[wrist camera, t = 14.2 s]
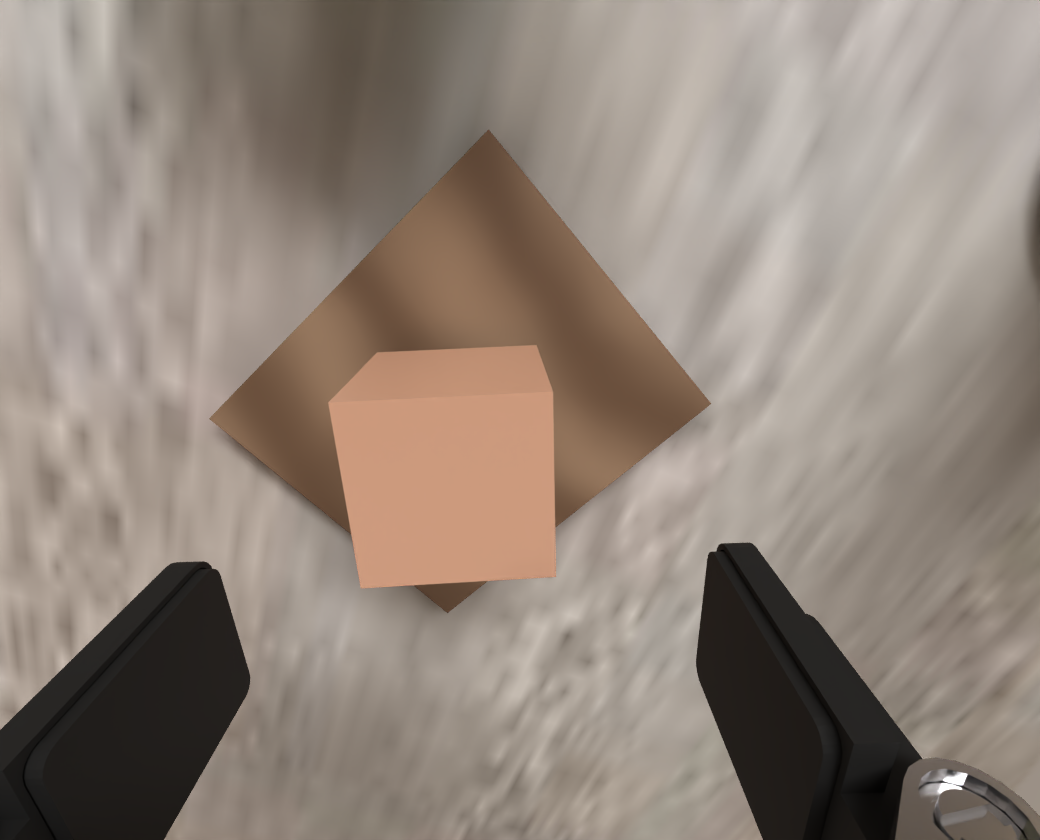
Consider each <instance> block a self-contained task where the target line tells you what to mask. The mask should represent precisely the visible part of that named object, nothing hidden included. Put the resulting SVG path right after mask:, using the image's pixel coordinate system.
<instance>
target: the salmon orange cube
mask: <svg viewBox="0 0 1040 840" xmlns="http://www.w3.org/2000/svg"><path fill="white" fill-rule="evenodd" d="M328 404H329V410H330V416H331V421H332V427H333V433H334V438H335V444H336V450H337V455H338V461H339V467H340V472H341V478H342V484H343V490H344V495H345V501H346V507H347V512H348V518H349V524H350V529H351V535H352V541H353V546H354V552H355V558H356V563H357V569H358V575H359V580H360V586H361V588H375V587H392V586H409V585H426V584H443V583H460V582H477V581H493V580H510V579H527V578H544V577H556V547H555V483H554V419H553V390H552V387H551V384H550V382H549V379H548V376H547V373H546V370H545V368H544V365H543V362H542V359H541V356H540V353H539V351H538V348H537V345H526V346H505V347H483V348H462V349H440V350H418V351H397V352H377V353H376V354H375V355H374V356H373V357H372V358H371V359H370V360H369V361H368V362H367V363H366V364H365V365H364V366H363V367H362V368H361V369H360V370H359V372H358V373H357V374H356V375H355V376H354V377H353V378H352V379H351V380H350V381H349V382H348V383H347V384H346V385H345V386H344V387H343V388H342V389H341V390H340V391H339V392H338V393H337V394H336V395H335V396H334V397H333V398H332V399H331V400H330V401H329V402H328Z"/></svg>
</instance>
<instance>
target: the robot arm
mask: <svg viewBox="0 0 1040 840" xmlns="http://www.w3.org/2000/svg"><path fill="white" fill-rule="evenodd" d="M696 667H697V673H698V678H699V681H700V683H701V686H702V688H703V691H704V693H705V696H706V698H707V701H708V703H709V706H710V708H711V711H712V713H713V716H714V718H715V721H716V723H717V726H718V728H719V731H720V733H721V736H722V738H723V741H724V743H725V746H726V748H727V751H728V753H729V756H730V758H731V761H732V763H733V766H734V768H735V771H736V773H737V776H738V778H739V781H740V783H741V786H742V788H743V791H744V793H745V796H746V798H747V801H748V803H749V806H750V808H751V811H752V813H753V816H754V818H755V821H756V823H757V826H758V828H759V831H760V833H761V836H762V838H763V840H1040V816H1039V815H1038V814H1037V813H1036V812H1035V811H1034V810H1033V809H1032V808H1031V807H1030V805H1029V804H1028V803H1027V802H1026V801H1025V800H1024V799H1022V798H1021V797H1020V796H1019V795H1017V794H1016V793H1015V792H1013V791H1012V790H1011V789H1009V788H1008V787H1007V786H1006V785H1004V784H1003V783H1002V782H1000V781H998V780H996V779H995V778H993V777H991V776H989V775H988V774H986V773H984V772H982V771H981V770H979V769H976V768H974V767H971V766H968V765H966V764H963V763H960V762H958V761H954V760H948V759H942V758H928V759H922V758H921V756H920V755H919V754H918V752H917V751H916V750H915V748H914V747H913V746H912V745H911V743H910V742H909V741H908V739H907V738H906V737H905V735H904V734H903V733H902V731H901V730H900V729H899V727H898V726H897V725H896V723H895V722H894V721H893V719H892V718H891V717H890V716H889V714H888V713H887V712H886V710H885V709H884V708H883V706H882V705H881V704H880V702H879V701H878V700H877V698H876V697H875V696H874V694H873V693H872V692H871V690H870V689H869V688H868V686H867V685H866V684H865V683H864V681H863V680H862V679H861V677H860V676H859V675H858V673H857V672H856V671H855V669H854V668H853V667H852V665H851V664H850V663H849V661H848V660H847V659H846V657H845V656H844V655H843V654H842V652H841V651H840V650H839V648H838V647H837V646H836V644H835V643H834V642H833V640H832V639H831V638H830V636H829V635H828V634H827V632H826V631H825V630H824V628H823V627H822V626H821V624H820V623H819V622H818V621H817V620H816V619H815V618H814V617H812V616H810V615H808V614H805V613H804V611H803V610H802V609H801V607H800V606H799V605H798V603H797V602H796V601H795V599H794V598H793V597H792V595H791V594H790V592H789V591H788V590H787V588H786V587H785V586H784V584H783V583H782V582H781V580H780V579H779V578H778V576H777V575H776V574H775V572H774V571H773V570H772V568H771V567H770V565H769V564H768V563H767V561H766V560H765V559H764V557H763V556H762V555H761V553H760V552H759V551H758V549H757V548H756V547H755V546H754V545H753V544H752V543H725V544H720V545H719V546H718V548H717V552H710V553H709V555H708V559H707V568H706V577H705V586H704V595H703V604H702V612H701V621H700V630H699V639H698V648H697V657H696ZM249 685H250V674H249V670H248V667H247V663H246V660H245V657H244V653H243V650H242V646H241V643H240V640H239V636H238V633H237V630H236V626H235V623H234V619H233V616H232V613H231V609H230V606H229V603H228V599H227V596H226V593H225V589H224V586H223V582H222V579H221V576H220V574H219V572H218V571H217V570H216V569H212V567H211V565H209V564H208V563H207V562H176V563H172V564H170V565H169V566H167V567H166V568H165V569H164V570H163V571H162V572H161V573H160V574H159V575H158V576H157V577H156V578H155V579H154V580H153V581H152V582H151V583H150V584H149V585H148V586H147V587H146V588H145V589H144V590H142V591H141V592H140V593H139V594H138V595H137V596H136V597H135V598H134V599H133V600H132V601H131V602H130V603H129V604H128V605H127V606H126V607H125V608H124V609H123V610H122V611H121V612H120V613H119V614H118V615H117V616H116V617H115V618H114V619H113V620H112V621H111V622H110V623H109V624H108V625H107V626H106V627H105V628H104V629H103V630H102V631H101V632H100V633H99V634H98V635H97V636H96V637H95V638H94V639H93V640H92V641H90V642H89V643H88V644H87V645H86V646H85V647H84V648H83V649H82V650H81V651H80V652H79V653H78V654H77V655H76V656H75V657H74V658H73V659H72V660H71V661H70V662H69V663H68V664H67V665H66V666H65V667H64V668H63V669H62V670H61V671H60V672H59V673H58V674H57V675H56V676H55V677H54V678H53V679H52V680H51V681H50V682H49V683H48V684H47V685H46V686H45V687H44V688H43V689H42V690H41V691H40V692H39V693H37V694H36V695H35V696H34V697H33V698H32V699H31V700H30V701H29V702H28V703H27V704H26V705H25V706H24V707H23V708H22V709H21V710H20V711H19V712H18V713H17V714H16V715H15V716H14V717H13V718H12V719H11V720H10V721H9V722H8V723H7V724H6V725H5V726H4V727H3V728H2V729H1V730H0V840H164V838H165V837H166V835H167V833H168V831H169V830H170V828H171V826H172V824H173V823H174V821H175V819H176V817H177V816H178V814H179V812H180V810H181V809H182V807H183V805H184V803H185V802H186V800H187V798H188V796H189V795H190V793H191V791H192V789H193V788H194V786H195V784H196V782H197V781H198V779H199V777H200V775H201V774H202V772H203V770H204V769H205V767H206V765H207V763H208V762H209V760H210V758H211V756H212V755H213V753H214V751H215V749H216V748H217V746H218V744H219V742H220V741H221V739H222V737H223V735H224V734H225V732H226V730H227V728H228V727H229V725H230V723H231V721H232V720H233V718H234V716H235V714H236V713H237V711H238V709H239V707H240V706H241V704H242V702H243V700H244V699H245V697H246V695H247V693H248V689H249Z"/></svg>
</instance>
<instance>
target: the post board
mask: <svg viewBox="0 0 1040 840" xmlns="http://www.w3.org/2000/svg"><path fill="white" fill-rule="evenodd" d="M526 345H537V348H538V351H539V353H540V356H541V359H542V362H543V365H544V368H545V370H546V373H547V376H548V379H549V382H550V384H551V387H552V390H553V419H554V483H555V527H556V526H558V525H559V524H560V523H561V522H563V521H564V520H565V519H567V518H568V517H569V516H570V515H572V514H573V513H574V512H575V511H577V510H578V509H579V508H580V507H582V506H583V505H584V504H585V503H587V502H588V501H589V500H590V499H592V498H593V497H594V496H596V495H597V494H598V493H599V492H601V491H602V490H603V489H604V488H606V487H607V486H608V485H609V484H611V483H612V482H613V481H614V480H616V479H617V478H618V477H619V476H621V475H622V474H623V473H625V472H626V471H627V470H628V469H630V468H631V467H632V466H633V465H635V464H636V463H637V462H638V461H640V460H641V459H642V458H643V457H645V456H646V455H647V454H648V453H650V452H651V451H652V450H654V449H655V448H656V447H657V446H659V445H660V444H661V443H662V442H664V441H665V440H666V439H667V438H669V437H670V436H671V435H672V434H674V433H675V432H676V431H677V430H679V429H680V428H681V427H683V426H684V425H685V424H686V423H688V422H689V421H690V420H691V419H693V418H694V417H695V416H696V415H698V414H699V413H700V412H701V411H703V410H704V409H705V408H706V407H708V406H709V405H710V404H711V403H710V402H709V400H708V399H707V398H706V397H705V396H704V394H703V393H702V392H701V391H700V389H699V388H698V387H697V386H696V384H695V383H694V382H693V381H692V380H691V378H690V377H689V376H688V375H687V373H686V372H685V371H684V370H683V368H682V367H681V366H680V365H679V364H678V362H677V361H676V360H675V359H674V357H673V356H672V355H671V354H670V352H669V351H668V350H667V349H666V348H665V346H664V345H663V344H662V343H661V341H660V340H659V339H658V338H657V336H656V335H655V334H654V333H653V332H652V330H651V329H650V328H649V327H648V325H647V324H646V323H645V322H644V320H643V319H642V318H641V317H640V315H639V314H638V313H637V312H636V311H635V309H634V308H633V307H632V306H631V304H630V303H629V302H628V301H627V299H626V298H625V297H624V296H623V295H622V293H621V292H620V291H619V290H618V288H617V287H616V286H615V285H614V283H613V282H612V281H611V280H610V279H609V277H608V276H607V275H606V274H605V272H604V271H603V270H602V269H601V267H600V266H599V265H598V264H597V263H596V261H595V260H594V259H593V258H592V256H591V255H590V254H589V253H588V251H587V250H586V249H585V248H584V246H583V245H582V244H581V243H580V242H579V240H578V239H577V238H576V237H575V235H574V234H573V233H572V232H571V230H570V229H569V228H568V227H567V226H566V224H565V223H564V222H563V221H562V219H561V218H560V217H559V216H558V214H557V213H556V212H555V211H554V210H553V208H552V207H551V206H550V205H549V203H548V202H547V201H546V200H545V198H544V197H543V196H542V195H541V194H540V192H539V191H538V190H537V189H536V187H535V186H534V185H533V184H532V182H531V181H530V180H529V179H528V177H527V176H526V175H525V174H524V173H523V171H522V170H521V169H520V168H519V166H518V165H517V164H516V163H515V161H514V160H513V159H512V158H511V157H510V155H509V154H508V153H507V152H506V150H505V149H504V148H503V147H502V145H501V144H500V143H499V142H498V141H497V139H496V138H495V137H494V136H493V134H492V133H491V132H490V131H489V130H488V131H487V132H486V133H485V134H484V135H483V136H482V137H481V138H480V139H479V140H478V141H477V142H476V143H475V144H474V145H473V146H472V147H471V148H470V149H469V150H468V151H467V153H466V154H465V155H464V156H463V157H462V158H461V159H460V160H459V161H458V162H457V163H456V164H455V165H454V166H453V167H452V168H451V169H450V170H449V171H448V172H447V173H446V174H445V175H444V176H443V177H442V178H441V179H440V180H439V181H438V183H437V184H436V185H435V186H434V187H433V188H432V189H431V190H430V191H429V192H428V193H427V194H426V195H425V196H424V197H423V198H422V199H421V200H420V201H419V202H418V203H417V204H416V205H415V206H414V207H413V208H412V209H411V210H410V211H409V213H408V214H407V215H406V216H405V217H404V218H403V219H402V220H401V221H400V222H399V223H398V224H397V225H396V226H395V227H394V228H393V229H392V230H391V231H390V232H389V233H388V234H387V235H386V236H385V237H384V238H383V239H382V240H381V242H380V243H379V244H378V245H377V246H376V247H375V248H374V249H373V250H372V251H371V252H370V253H369V254H368V255H367V256H366V257H365V258H364V259H363V260H362V261H361V262H360V263H359V264H358V265H357V266H356V267H355V268H354V269H353V270H352V272H351V273H350V274H349V275H348V276H347V277H346V278H345V279H344V280H343V281H342V282H341V283H340V284H339V285H338V286H337V287H336V288H335V289H334V290H333V291H332V292H331V293H330V294H329V295H328V296H327V297H326V298H325V299H324V300H323V302H322V303H321V304H320V305H319V306H318V307H317V308H316V309H315V310H314V311H313V312H312V313H311V314H310V315H309V316H308V317H307V318H306V319H305V320H304V321H303V322H302V323H301V324H300V325H299V326H298V327H297V328H296V329H295V330H294V332H293V333H292V334H291V335H290V336H289V337H288V338H287V339H286V340H285V341H284V342H283V343H282V344H281V345H280V346H279V347H278V348H277V349H276V350H275V351H274V352H273V353H272V354H271V355H270V356H269V357H268V358H267V359H266V360H265V362H264V363H263V364H262V365H261V366H260V367H259V368H258V369H257V370H256V371H255V372H254V373H253V374H252V375H251V376H250V377H249V378H248V379H247V380H246V381H245V382H244V383H243V384H242V385H241V386H240V387H239V388H238V389H237V391H236V392H235V393H234V394H233V395H232V396H231V397H230V398H229V399H228V400H227V401H226V402H225V403H224V404H223V405H222V406H221V407H220V408H219V409H218V410H217V411H216V412H215V413H214V414H213V415H212V416H211V417H210V418H209V419H210V420H211V421H213V422H214V423H215V424H216V425H217V426H219V427H220V428H221V429H222V430H224V431H225V432H226V433H227V434H229V435H230V436H231V437H232V438H233V439H235V440H236V441H237V442H238V443H240V444H241V445H242V446H243V447H244V448H246V449H247V450H248V451H249V452H251V453H252V454H253V455H254V456H256V457H257V458H258V459H259V460H260V461H262V462H263V463H264V464H265V465H267V466H268V467H269V468H270V469H271V470H273V471H274V472H275V473H276V474H278V475H279V476H280V477H281V478H282V479H284V480H285V481H286V482H287V483H289V484H290V485H291V486H292V487H294V488H295V489H296V490H297V491H298V492H300V493H301V494H302V495H303V496H305V497H306V498H307V499H308V500H309V501H311V502H312V503H313V504H314V505H316V506H317V507H318V508H319V509H321V510H322V511H323V512H324V513H325V514H327V515H328V516H329V517H330V518H332V519H333V520H334V521H335V522H336V523H338V524H339V525H340V526H341V527H343V528H344V529H345V530H346V531H348V532H349V533H350V534H351V529H350V524H349V518H348V512H347V507H346V501H345V495H344V490H343V484H342V478H341V472H340V467H339V461H338V455H337V450H336V444H335V438H334V433H333V427H332V421H331V416H330V410H329V404H328V402H329V401H330V400H331V399H332V398H333V397H334V396H335V395H336V394H337V393H338V392H339V391H340V390H341V389H342V388H343V387H344V386H345V385H346V384H347V383H348V382H349V381H350V380H351V379H352V378H353V377H354V376H355V375H356V374H357V373H358V372H359V370H360V369H361V368H362V367H363V366H364V365H365V364H366V363H367V362H368V361H369V360H370V359H371V358H372V357H373V356H374V355H375V354H376V353H377V352H397V351H418V350H440V349H462V348H483V347H505V346H526ZM486 582H487V581H477V582H460V583H443V584H426V585H414V586H415V587H416V588H417V589H419V590H420V591H421V592H422V593H424V594H425V595H426V596H427V597H428V598H430V599H431V600H432V601H433V602H435V603H436V604H437V605H438V606H440V607H441V608H442V609H443V610H444V611H446V612H447V613H448V612H449V611H450V610H452V609H453V608H454V607H456V606H457V605H458V604H459V603H461V602H462V601H463V600H464V599H466V598H467V597H468V596H469V595H471V594H472V593H473V592H474V591H476V590H477V589H478V588H479V587H481V586H482V585H483V584H485V583H486Z"/></svg>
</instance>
